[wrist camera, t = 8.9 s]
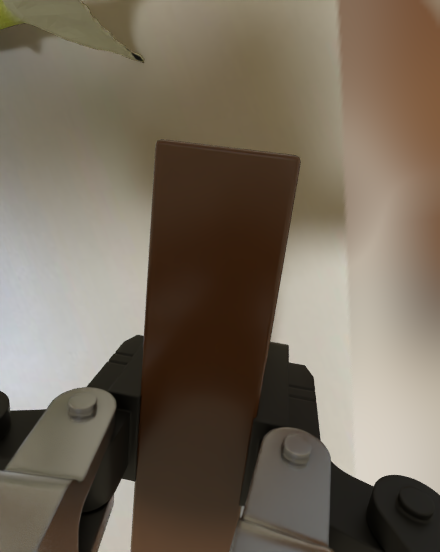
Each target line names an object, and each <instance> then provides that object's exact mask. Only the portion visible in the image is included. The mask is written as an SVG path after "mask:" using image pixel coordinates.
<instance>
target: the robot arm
mask: <svg viewBox="0 0 440 552" xmlns="http://www.w3.org/2000/svg"><path fill="white" fill-rule="evenodd" d="M143 342H144V336H141V335H136V336H134V337H133V338H131V339H129V340H127V341H125V342H123V344H122V345H121V346H120V347H119V348H118V350H117V351H116V353H115V354H113V356H112V357H111V358H110V359H109V362H107V363H106V364H105V365H104V367H103V368H102V369H101V370H100V371H99V373H98V374H97V375H96V376H95V377H94V379H93V380H92V381H91V382H90V383H89V385H88V386H87V387H83V388H77V389H72V390H69V391H67V392H64V393H62V394H61V395H59V396H57V397H56V398H55V399H54V400H53V401H52V402H51V403H50V405H49V406H48V408H47V409H44V410H18V411H10V405H9V399H8V397H7V395H6V394H4V393H3V392H1V391H0V552H98V549H99V546H100V543H101V540H102V537H103V534H104V531H105V528H106V525H107V522H108V519H109V516H110V513H111V510H112V507H113V503H114V493H115V491H116V489H117V487H118V485H119V483H120V481H121V479H126V480H131V481H136V466H137V450H138V434H139V419H140V403H141V394H140V391H141V375H142V359H143ZM239 506H244V509H243V513H242V517H239V519H238V522H237V526H236V529H235V532H234V536H233V540H232V543H231V547H230V551H229V552H440V495H439V494H438V493H436V492H435V491H434V490H433V489H431V488H429V487H428V486H426V485H425V484H423V483H421V482H419V481H417V480H415V479H412V478H409V477H405V476H400V475H388V476H384V477H382V478H380V479H379V480H378V481H377V482H376V483H375V485H374V487H373V486H371V485H369V484H367V483H365V482H363V481H360V480H358V479H356V478H354V477H352V476H350V475H348V474H347V473H345V472H344V471H342V470H341V469H339V468H338V467H337V466H336V465H334V464H333V463H332V462H331V457H330V454H329V451H328V450H327V448H326V447H325V445H324V444H323V443H322V442H321V440H320V431H319V422H318V413H317V404H316V395H315V386H314V377H313V376H312V375H311V373H310V372H309V370H308V369H307V368H306V366H305V365H299V364H294V363H289V346H288V345H286V344H280V343H274V342H270V345H269V351H268V357H267V362H266V368H265V374H264V380H263V386H262V392H261V398H260V404H259V409H258V415H257V417H256V418H254V420H253V426H252V432H251V438H250V444H249V450H248V456H247V462H246V467H245V473H244V479H243V485H242V491H241V497H240V503H239Z"/></svg>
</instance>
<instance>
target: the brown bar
mask: <svg viewBox="0 0 440 552" xmlns="http://www.w3.org/2000/svg"><path fill="white" fill-rule="evenodd" d="M300 163H301V162H300V158H299V157H298V156H296V155H289V154H280V153H272V152H263V151H255V150H247V149H238V148H230V147H222V146H213V145H205V144H197V143H188V142H180V141H171V140H163V139H161V140H158V141H157V143H156V148H155V164H154V180H153V196H152V212H151V229H150V245H149V261H148V277H147V294H146V310H145V326H144V342H143V359H142V375H141V391H140V394H141V403H140V419H139V434H138V450H137V466H136V481H135V488H134V505H133V521H132V537H131V552H229V551H230V547H231V543H232V540H233V536H234V532H235V529H236V526H237V522H238V519H239V517H242V513H243V509H244V506H239V503H240V497H241V491H242V485H243V479H244V473H245V467H246V462H247V456H248V450H249V444H250V438H251V432H252V426H253V420H254V418H256V417H257V415H258V409H259V404H260V398H261V392H262V386H263V380H264V374H265V368H266V362H267V357H268V351H269V345H270V339H271V333H272V327H273V321H274V316H275V310H276V304H277V298H278V292H279V286H280V280H281V274H282V269H283V263H284V257H285V251H286V245H287V239H288V233H289V228H290V222H291V216H292V210H293V204H294V198H295V192H296V186H297V181H298V175H299V169H300Z"/></svg>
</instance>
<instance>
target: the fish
mask: <svg viewBox="0 0 440 552" xmlns="http://www.w3.org/2000/svg"><path fill="white" fill-rule="evenodd" d="M22 23H27V24H30V25H33V26H36V27H38V28H40V29H43V30H45V31H47V32H50V33H52V34H54V35H56V36H59V37H61V38H63V39H65V40H68V41H72V42H75V43H78V44H80V45H83V46H87V47H90V48H93V49H97V50H105V51H110V52H113V53H117V54H120V55H122V56H124V57H127V58H129V59H132V60H136V61H140V62H143V63H144V59H143V58H142V56H141V55H140V54H137V53H134V52H132V51H131V50H129V49H128V48H127V47H126V46H125V45H123V44H121V43H119V42H118V41H117V40H115V38H114V37H113V36H112V34H111V33H110V32H109V31H107V30H106V29H104V28H103V27H102V26H101V25H100V24H99V22H98V20H97V19H96V18H95V17H93V16H92V15H91V13H90V11H89V8H88V7H87V6H86V5H85V4H83V3H82V2H81V0H0V30H1V29H4V28H7V27H10V26H14V25H18V24H22Z"/></svg>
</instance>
